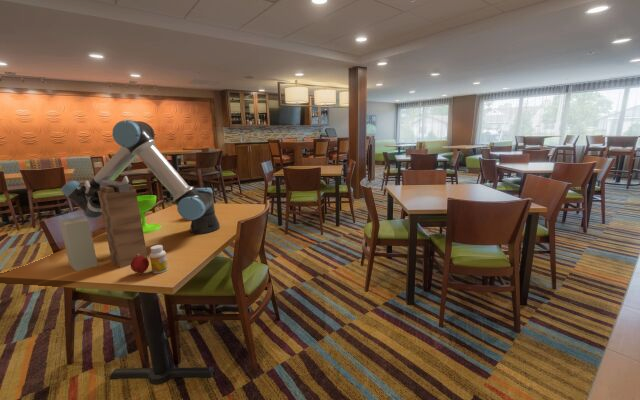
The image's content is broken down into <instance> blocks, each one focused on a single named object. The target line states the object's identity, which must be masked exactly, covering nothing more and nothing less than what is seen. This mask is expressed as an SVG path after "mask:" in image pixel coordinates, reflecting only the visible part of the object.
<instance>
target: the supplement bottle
mask: <svg viewBox="0 0 640 400" xmlns="http://www.w3.org/2000/svg"><path fill="white" fill-rule="evenodd" d="M163 249H164V247H163V245H162V244H156V245H153V246H151V247H150V254H149V260H150V261H149V262H150V266H151V272H152V274H163V273H164V272H166V271H168V269H169V265H168V259H167V253H166V251H165V250H163Z"/></svg>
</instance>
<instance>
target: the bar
mask: <svg viewBox="0 0 640 400" xmlns="http://www.w3.org/2000/svg"><path fill="white" fill-rule="evenodd" d="M99 184H100V186H109V187H113V188H114V191H115V192H118V193H123V192H130V188H129V184H128V183H123V182H122V181H117V180H114V181H113V180H102V181H99Z"/></svg>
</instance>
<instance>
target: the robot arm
mask: <svg viewBox="0 0 640 400" xmlns="http://www.w3.org/2000/svg"><path fill="white" fill-rule="evenodd" d="M111 134H112V138H113V140H114V142H115V143H116V144H117V145H118V146H120V148H119V149H118V150H117V151H116V152H115V153H114V154H113V155H112V156H111V158H110V159H109V160H108V161H107V162H106V163H105V165H103V167H102V168H100V170H99V171H98V172H97V173H96V174H95V175H94V176H93V177H92V179H91V180H90V181H89V180H85V182H84V183H82V184H81V183H80V182H78V180H77V181H76V180H70V181H68V182H67V183H66V184H64V185H62V187H61V189H60V191H61V193H62V194H63V195H64V196H66V198H67V199H69V201H71V202H73V204H75V205H77V206H78V208H80V209H81V210H82V211H83V215H84V216H85V218H86V219H88V220H97V219H101V217H103V215H102V210H101V205H100V200H99V195H98V191H100V184H99V181H102V180H113V181H116V179H117V178H118V177H119V176H120V175H121V174H122V172H124V170H125V169H126V168H127V167H128V166H129V165H130V164H131V163H132V162H133V160H134V159H135V158H136V157H138V158H139V159H140V160H141V161H142V162H143V163H144V164H145V166H146V167H147V168H148V169H149V170H150V171H151V172H152V174H153V175H154V177H155V178H157V179H158V180H159V182H160V183H161V185H163V186H164V188H165V189H166V190H167V191H168V192H169V193H170V194H171V196H172V197H173V199H172V200H173V201H172V202H173V203H174V204H175V205H176V206H177V209H176V210H177V213H178V214H179V215H180V216H181V217H182V218H183V219H185V220H188V221H191V222H190V229H189V230H190V232H191V233H192V234H207V233H212V232H216V231H217V230H219V229H221V225H220V221H219V220H218V217H217V216H216V210H215V202H214V193H213V189H212V187H195V186H191V185H188V183H187V182H186V181H185V179H184V178H183V176H181V175H180V173H178V171H177V170H176V169H175V167H173V166H172V164H171V163H170V161H168V160H167V158H166V156H164V155H163V154H162V152H161V151H160V150H159V149H158V147H157V146H156V144H155V143H156V141H155V137H156V136H155V135H156V134H155V130H154V129H153V127H152V126H151V125H150V124H149V123H147V122H145V121H140V120H138V121H137V120H132V119H126V120H121V121H118V122H117V123H115V124H114V126H113V128H112V133H111ZM121 182H123V183H128V184H129V185H132V184H131V182H130V181H129V178H128V176H127V175H125V176H124V177H123V179H122V181H121ZM77 206H76V207H77Z"/></svg>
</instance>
